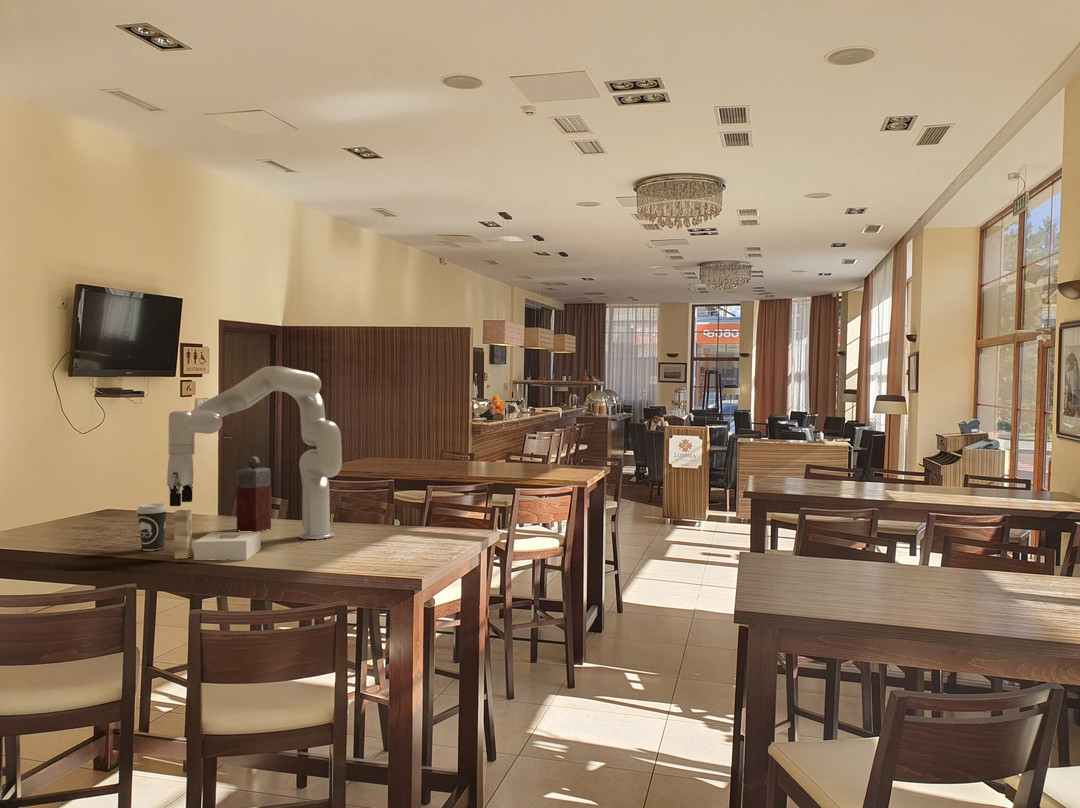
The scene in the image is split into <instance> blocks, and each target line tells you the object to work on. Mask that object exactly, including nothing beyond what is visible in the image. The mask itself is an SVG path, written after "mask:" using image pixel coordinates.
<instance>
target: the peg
mask: <svg viewBox="0 0 1080 808" xmlns="http://www.w3.org/2000/svg"><path fill="white" fill-rule="evenodd" d="M192 511H193V510H192V509H178V510H175V511H173V535H174V536H173V543H174V544H173V546H174V553H173V554H174V558H175V557H189V556H191V555H192V556H193V529H192V528H193V521H192V520H193V519H192V518H193V517H192V516H193V515H192V513H193V512H192Z"/></svg>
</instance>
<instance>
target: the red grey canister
mask: <svg viewBox="0 0 1080 808" xmlns="http://www.w3.org/2000/svg"><path fill="white" fill-rule="evenodd" d="M260 464H261V462H260V459H259V457H258V456H250V457H248V458H247V460H246V465H247V468H240V469H236V472H235V475H236V477H235V478H236V480H235V481H236V482H235V483H236V484H235V485H236V489H235V493H236V494H235V495H236V499H235V501H236V531H237V530H240V531H252V532H258V531H262V530H265V531H267V530H266V529H269V530H271V529H272V487H271V483H272V482H271V481H272V480H271V469H270V468H269V467H259V466H260ZM270 528H271V529H270ZM262 532H263V531H262Z"/></svg>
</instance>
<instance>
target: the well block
mask: <svg viewBox="0 0 1080 808" xmlns="http://www.w3.org/2000/svg"><path fill="white" fill-rule="evenodd" d="M261 546H262V544H261V532H237V531H230V532H229V531H228V532H227V531H224V532H223V531H222V532H221V531H219V532H214V531H213V532H212V531H211V532H209V533H208V534H206V535H204V536H202V537H200V538H198V539H197V540H195V541H193V561H194V560H209V559H220V560H221V561H227V560H226V559H230V560H229V561H247V560H248V558H249V559H250V558H251V557H252V555H253V556H254V555H255V554H257V553H258V552H260V551H261V550H260V549H261V548H262V547H261ZM256 552H257V553H256Z"/></svg>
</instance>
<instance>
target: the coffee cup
mask: <svg viewBox="0 0 1080 808" xmlns="http://www.w3.org/2000/svg"><path fill="white" fill-rule="evenodd" d="M168 511H169V509H168V507H167V506H166V504H165V503H147V504H145V503H144V504H139V505H138V508H137V510H136V512H135V513H136V514H137V516H138V527H139V534H140V544H141V550H142V549H158V548H162V547H165V534H166V524H167V514H168V513H167V512H168Z"/></svg>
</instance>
